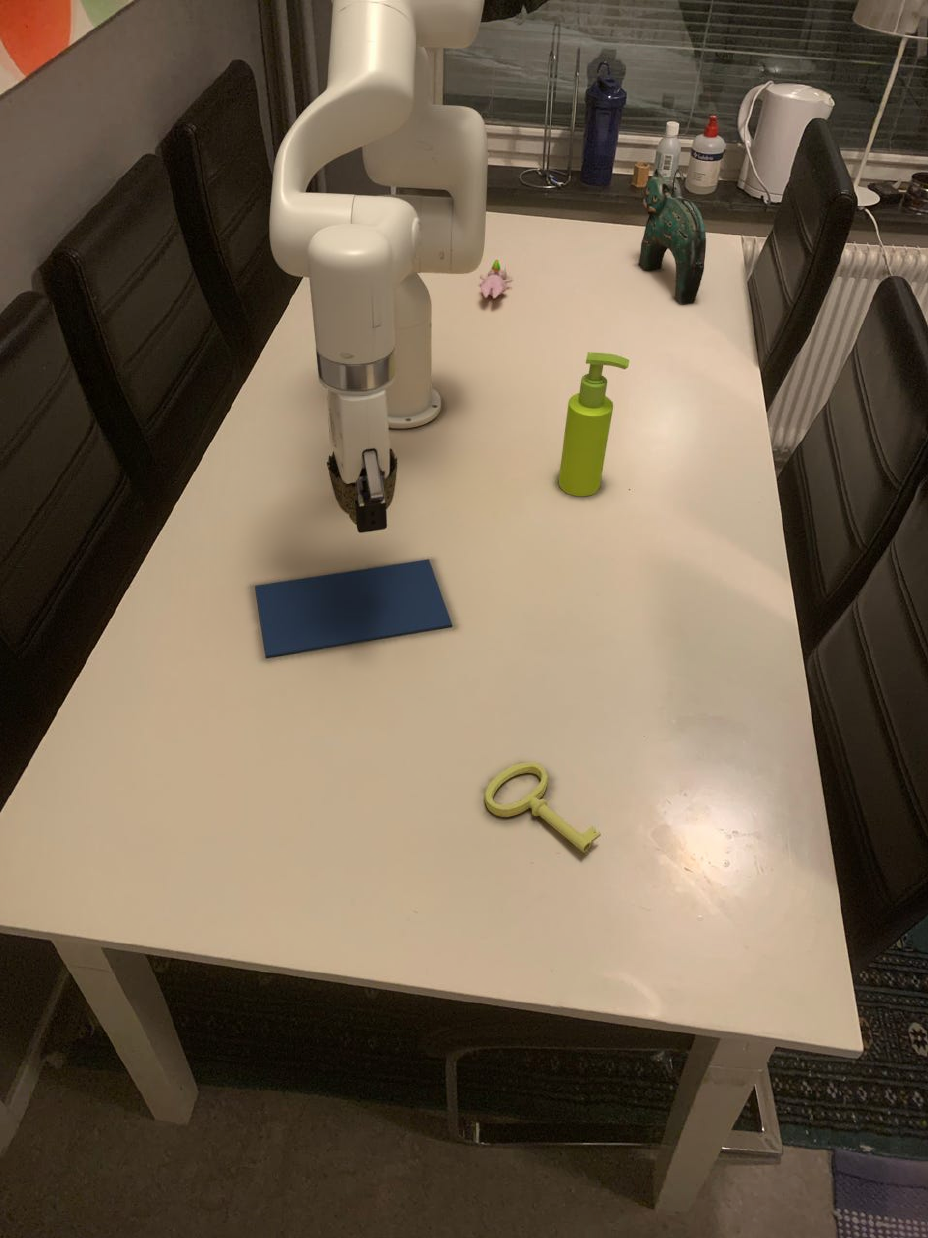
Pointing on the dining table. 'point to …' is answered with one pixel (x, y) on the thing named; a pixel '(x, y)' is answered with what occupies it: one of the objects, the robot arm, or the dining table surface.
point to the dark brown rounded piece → (348, 492)
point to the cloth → (350, 607)
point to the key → (536, 804)
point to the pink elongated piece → (494, 281)
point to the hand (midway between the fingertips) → (365, 506)
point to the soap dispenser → (588, 429)
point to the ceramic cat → (673, 235)
